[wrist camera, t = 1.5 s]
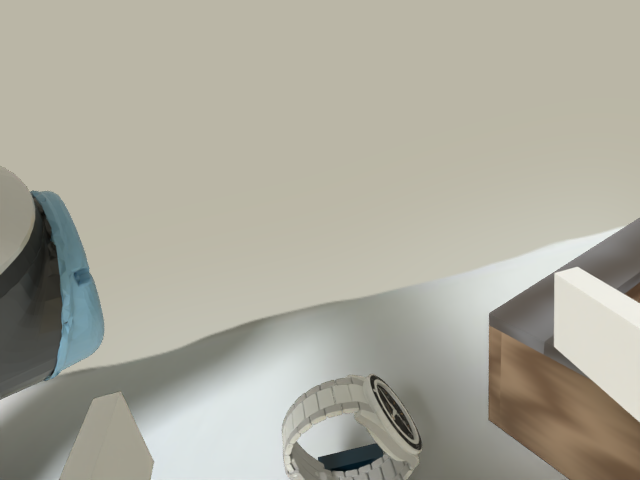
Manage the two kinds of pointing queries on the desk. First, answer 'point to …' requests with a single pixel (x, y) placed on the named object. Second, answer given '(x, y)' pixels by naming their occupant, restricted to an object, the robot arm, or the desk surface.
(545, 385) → the box
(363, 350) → the desk surface
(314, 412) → the watch
